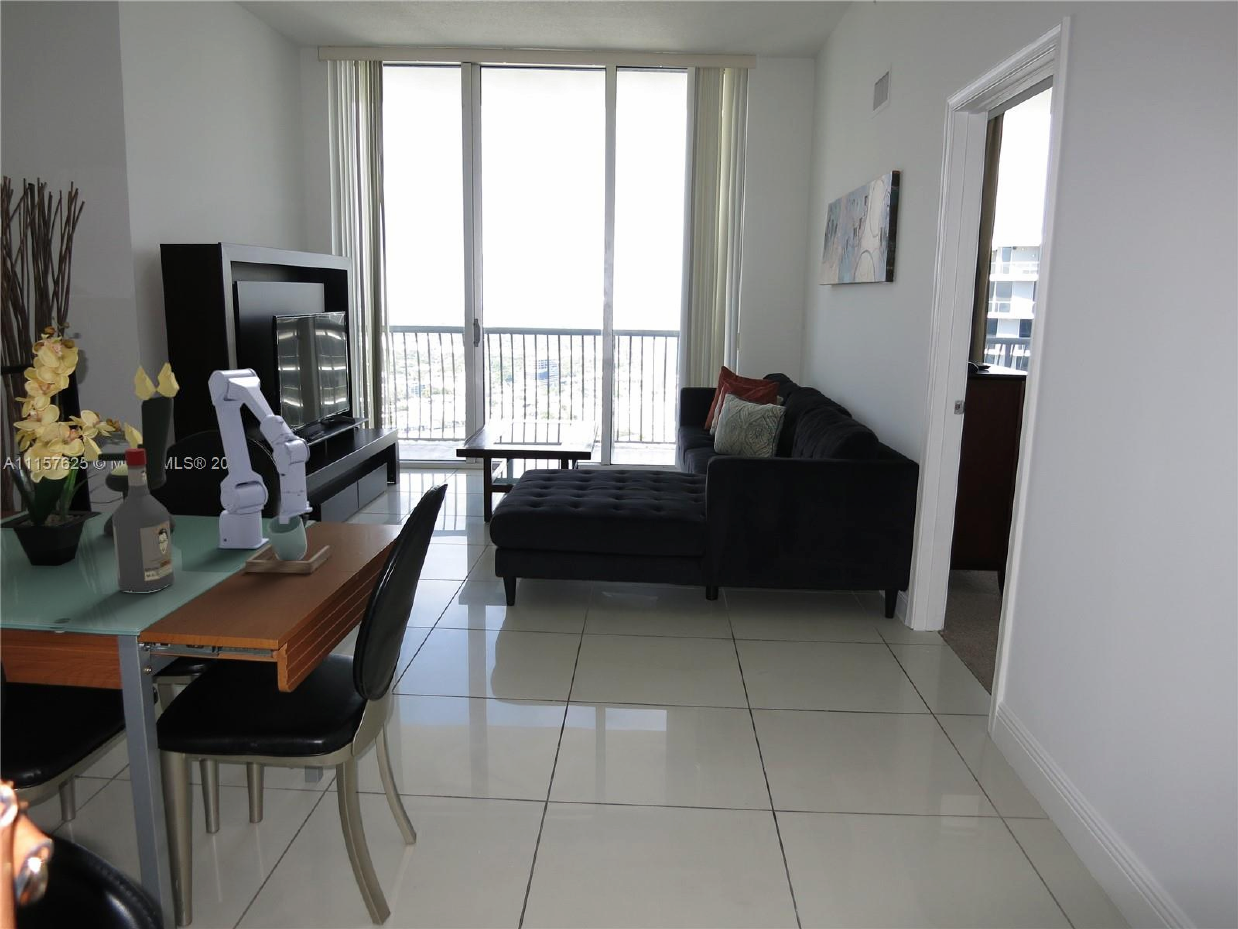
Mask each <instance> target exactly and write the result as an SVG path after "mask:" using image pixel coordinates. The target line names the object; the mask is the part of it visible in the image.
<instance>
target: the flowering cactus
mask: <svg viewBox="0 0 1238 929" xmlns="http://www.w3.org/2000/svg"><path fill="white" fill-rule="evenodd" d="M157 380H158V383H159V386H157V388H155V386H154V384H153V382H152V381H151V379H150V377H149V376H148V374H146V372H145V370H144V368H143V366H142V364H140V365H139V367H138V369H137V371H136V374H135V376H134V378H133V383H134V385H135V390H134V391H133V393H134V394H135V395H136V396H137V397H138V398H140V399H141V400H143V401H142V402H141V407H140V408H141V409H140V410H141V433H142V435H141V433H140V432H139V431H138V430H136V429H135V428H134V427H133V426H131V425H129V423H127V422H126V421H124V422H123V423H124V426H123V427H124V437H125V439H126V441H128V443H129V445H130V449H145V455H146V464H145V466H146V475H147V485H148V489H149V491H150V492H151V491H153V490H156V489H159V488H160V487H162V486H164V485H165V483H166V482H167V475H166V463H167V453H168V445H169V439H170V432H171V425H172V420H173V415H174V405H175V404H174V402H175V400H174V397H175V396H176V394H177V393H178V391H179V390H180V386H179V384H178V382H177V380H176V377H175V374H174V372H172V366H171V364H170V362H165V363H164V365H163V367H162V369H161V371H160V372H159V374H158V376H157ZM156 391H157V392H159V393H160V394H161V395H162V396H157V397H156V396H155V395H154V394H155V393H156ZM154 396H155V397H154ZM83 442H84V445H85V452H84V453H83V457H84V458H83V461H84V462H95V461H100V462H126V455H125V451H124V452H122V451H120V452H118V451H117V452H102V451H101V449H100V448H99V447H98V445H97V443H96V442H95V441H94V440H93V439H91V437H89V438H87V437H85V438H84V439H83ZM104 483H105V485H106V487H107V488H108V490H109V489H110V490H111V491H114V492H118V493H124V499H125V498H126V497H127V496H128V490H129V483H128V469H127V465H126V463H123V464H120V465H118V466H116V467H115V468H113V470H112V471H110V472H109V473H108V474H107V475H106V477H105V481H104ZM168 513H169V525H170V532H171V531H173V530H174V528H175V527H176V526H177V522H176V519H175V517H174V516H173V515H172V514H171V513H170V512H169V511H168ZM112 516H113V513H112V514H111V515H110V516H109V517H108V518H107V519H106V521H105V523H104V524H103V529H102V530H103V531H102V532H103V533H104V534H105V535H106V536H108V537H109V538H113V539H114V533H113V522H112Z"/></svg>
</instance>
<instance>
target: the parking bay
mask: <svg viewBox="0 0 1238 929" xmlns="http://www.w3.org/2000/svg"><path fill="white" fill-rule="evenodd" d="M330 555H331V545H325V546H324V547H323V548H322V549H321V550H319V551H318V552H317V553H316V554H315V555H314V556H312V557H311V558H310V559H309V560H299V561H280V560H269V559H270V557H272V556H274V552H273V549H272V547H271V544H267V545H266V546H264V547H263V548H262V549H261V550H259V551H258V552H256V553H255V554H253V555H252V556H251V557H249V558H248V559H246V560H245V561H244V563H245V565H244V567H245V572H246V573H282V574H283V573H288V574H289V573H290V574H291V573H293V574H313V572H314V571H316V570H317V569H318V568H319V567H320V566H321V565H323V564H324V562H325V561H327V560H328V559H329V558H330V557H331V556H330ZM329 556H330V557H329ZM327 558H328V559H327ZM316 568H317V569H316ZM315 569H316V570H315Z"/></svg>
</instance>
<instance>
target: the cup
mask: <svg viewBox="0 0 1238 929" xmlns="http://www.w3.org/2000/svg"><path fill="white" fill-rule="evenodd" d="M280 515H281V514H280ZM280 515H276V516H274V517H273V518H271V519H270V521H269V522H268V523H267V526H266V532H267V536H268V539H269V543H270V545H271V547H272V549H273V555H275V558H277V559H278V561H301V560H302V559H303V558H304V556H305V555H306V553H307V549H308V542H307V534H306V531H305V529H304V525H303V522H302V519H301V518H300V517H299V516H297V515H296V516H294V517H291V520H290V521H289V524H280V523H279V516H280Z"/></svg>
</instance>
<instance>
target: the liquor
mask: <svg viewBox="0 0 1238 929" xmlns="http://www.w3.org/2000/svg"><path fill="white" fill-rule="evenodd" d="M124 452H125V455H126V461H125V464H126V465H127V469H128V483H129V490H128V496H127V497H126V498H125V497H124V500H123V501H122V502H121V503H120V504H119V506H118V507H117V508H116V509H115V510H114V511H113V513H112V514H113V516H112V522H113V533H114V538H113V541H114V553H115V554H114V556H115V564H116V574H117V585H118V587H119V589H120V590H121V592H123V591H129V592H130V591H132V592H149V591H154V590H159V589H162V588H164V587H165V586H167V585H169V584H171V583H172V582H174V578H175V576H174V565H173V552H172V550H173V549H172V540H171V531H170V525H169V513H170V512H169V511H168V509H167V507H165V506H164V505H163V504H162V503H160V501H158V500H157V499H156V498H155V497H154V496H152V494H151V490H150V491H149V489H148V485H147V475H146V466H145V464H146V455H145V449H131V448H129V449H126V450H124ZM168 512H169V513H168ZM172 584H173V583H172ZM172 584H171V585H172ZM164 589H165V588H164ZM162 590H163V589H162Z"/></svg>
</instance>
